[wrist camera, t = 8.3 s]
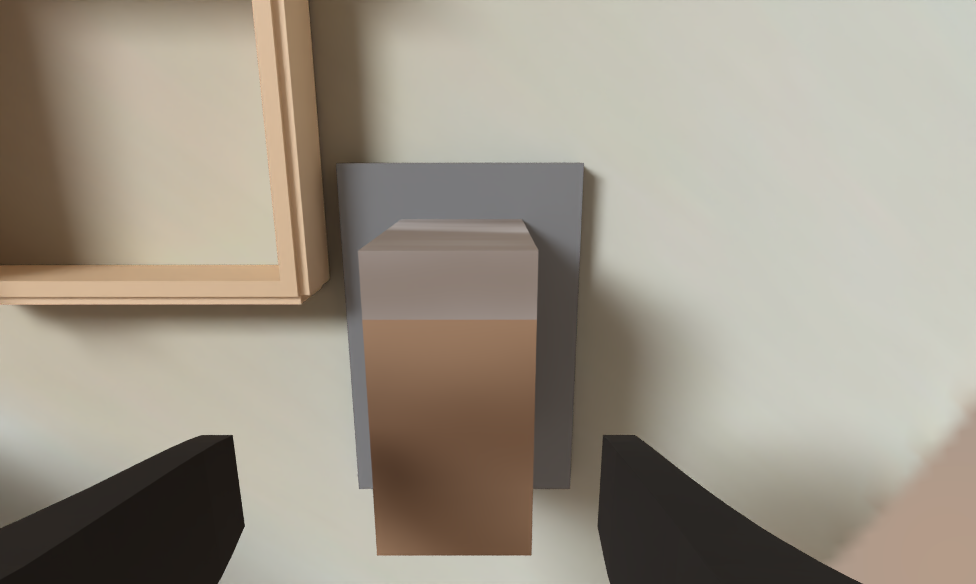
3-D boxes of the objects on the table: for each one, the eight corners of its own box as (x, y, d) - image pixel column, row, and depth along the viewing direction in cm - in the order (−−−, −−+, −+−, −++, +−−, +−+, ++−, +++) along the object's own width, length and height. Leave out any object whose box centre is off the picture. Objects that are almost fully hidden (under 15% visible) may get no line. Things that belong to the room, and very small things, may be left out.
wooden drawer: (331, 286, 19) (277, 332, 14) (-13, 287, 19) (-184, 332, 14) (300, -112, 16) (218, -229, 11) (-109, -111, 16) (-371, -227, 11)
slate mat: (566, 476, 21) (569, 488, 20) (363, 476, 21) (359, 488, 20) (579, 162, 18) (583, 163, 17) (342, 163, 18) (336, 163, 17)
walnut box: (518, 436, 20) (531, 555, 14) (410, 436, 20) (376, 555, 14) (521, 219, 18) (538, 250, 12) (401, 219, 18) (357, 250, 12)
